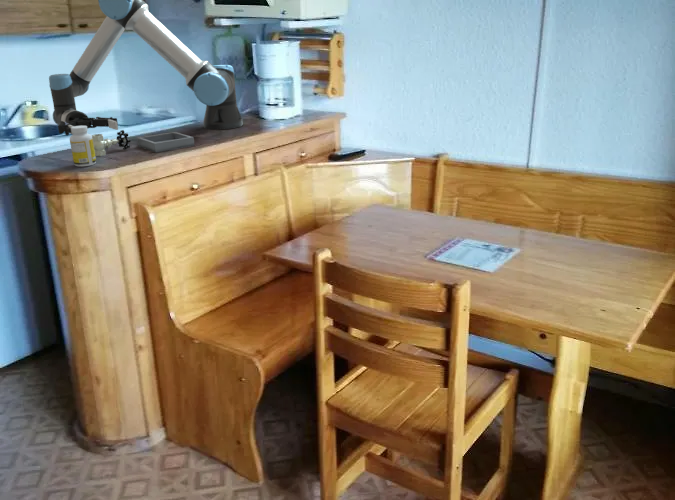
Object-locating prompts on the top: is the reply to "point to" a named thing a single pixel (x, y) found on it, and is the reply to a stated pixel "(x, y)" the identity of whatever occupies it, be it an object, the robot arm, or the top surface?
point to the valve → (109, 142)
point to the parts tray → (165, 142)
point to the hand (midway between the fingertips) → (96, 128)
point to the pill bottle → (82, 147)
